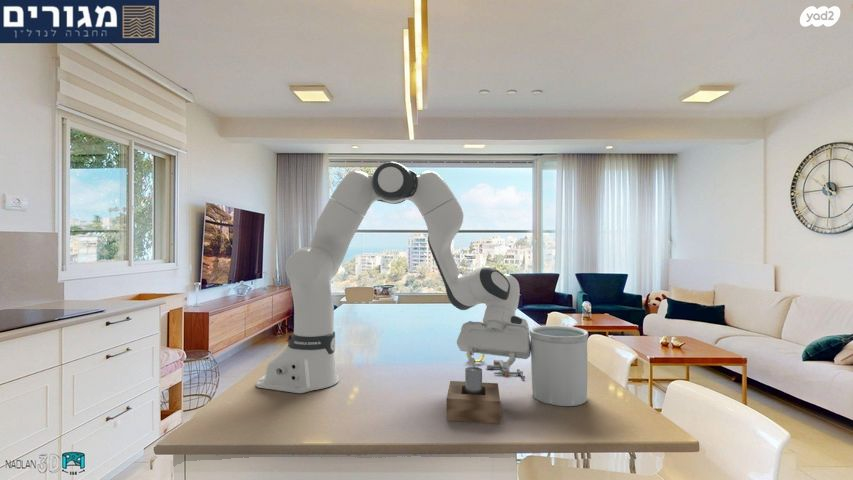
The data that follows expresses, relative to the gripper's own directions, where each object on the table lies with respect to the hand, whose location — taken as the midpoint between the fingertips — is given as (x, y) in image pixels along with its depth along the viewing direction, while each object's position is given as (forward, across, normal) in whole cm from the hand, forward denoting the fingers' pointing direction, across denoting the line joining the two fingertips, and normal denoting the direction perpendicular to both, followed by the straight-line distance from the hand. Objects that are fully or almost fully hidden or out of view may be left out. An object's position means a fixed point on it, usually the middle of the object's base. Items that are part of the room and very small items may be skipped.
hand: (487, 367), depth 108 cm
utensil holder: (0, +17, +11) cm, 20 cm away
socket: (+13, 0, -3) cm, 13 cm away
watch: (-16, -14, +26) cm, 34 cm away
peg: (+13, 0, -3) cm, 13 cm away
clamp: (-10, -1, +22) cm, 24 cm away
